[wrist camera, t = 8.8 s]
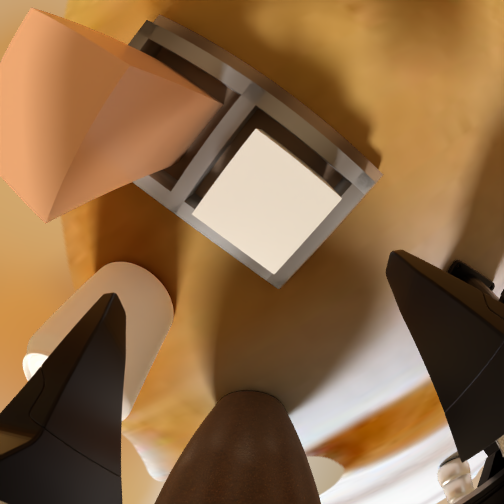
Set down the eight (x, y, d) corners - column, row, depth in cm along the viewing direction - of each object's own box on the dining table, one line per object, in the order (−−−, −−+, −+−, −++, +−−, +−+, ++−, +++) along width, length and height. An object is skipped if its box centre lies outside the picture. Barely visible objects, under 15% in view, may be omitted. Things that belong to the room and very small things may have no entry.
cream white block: (323, 178, 19) (342, 198, 13) (274, 234, 21) (274, 274, 15) (262, 129, 18) (255, 128, 12) (215, 189, 20) (191, 214, 14)
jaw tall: (223, 104, 17) (130, 65, 5) (176, 163, 19) (45, 223, 7) (166, 64, 16) (31, 7, 5) (124, 123, 18) (-29, 140, 6)
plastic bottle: (439, 461, 36) (461, 546, 17) (469, 448, 35) (495, 529, 16) (431, 474, 38) (449, 552, 20) (460, 463, 37) (481, 537, 19)
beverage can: (143, 243, 23) (55, 333, 12) (193, 322, 26) (149, 435, 15) (81, 277, 25) (1, 355, 14) (128, 343, 27) (75, 435, 16)
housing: (377, 172, 19) (396, 181, 16) (280, 281, 23) (280, 307, 20) (165, 19, 16) (145, 2, 13) (87, 139, 20) (59, 143, 16)
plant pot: (325, 435, 31) (332, 549, 17) (212, 445, 34) (191, 548, 19) (308, 353, 26) (320, 522, 11) (162, 371, 29) (109, 505, 14)
